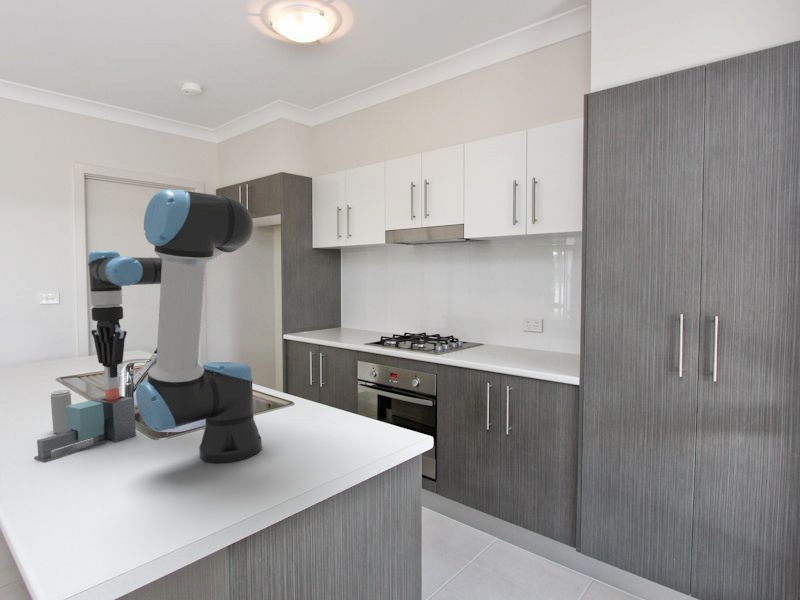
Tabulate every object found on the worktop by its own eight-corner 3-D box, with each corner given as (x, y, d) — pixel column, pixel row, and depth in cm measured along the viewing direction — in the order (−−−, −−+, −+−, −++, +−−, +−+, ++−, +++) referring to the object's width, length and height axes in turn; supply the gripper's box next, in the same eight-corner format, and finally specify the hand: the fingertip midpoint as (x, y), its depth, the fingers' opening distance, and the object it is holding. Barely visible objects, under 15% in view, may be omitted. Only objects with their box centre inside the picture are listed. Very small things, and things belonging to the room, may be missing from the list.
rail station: (135, 435, 133) (133, 397, 132) (50, 464, 113) (47, 420, 113) (115, 430, 137) (112, 394, 137) (29, 457, 118) (26, 415, 117)
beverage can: (62, 434, 135) (59, 394, 134) (48, 433, 136) (46, 393, 135) (77, 429, 139) (74, 390, 139) (63, 428, 140) (61, 389, 140)
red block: (122, 406, 133) (121, 388, 132) (110, 409, 130) (109, 391, 129) (115, 405, 134) (114, 387, 134) (103, 408, 131) (102, 390, 131)
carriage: (104, 433, 127) (102, 403, 126) (81, 441, 121) (79, 409, 121) (91, 430, 130) (89, 400, 129) (68, 437, 124) (65, 406, 124)
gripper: (134, 305, 130) (138, 387, 132) (107, 304, 136) (111, 383, 138) (107, 307, 124) (112, 394, 125) (79, 306, 130) (84, 389, 131)
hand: (112, 388), depth 132 cm, fingers closed
